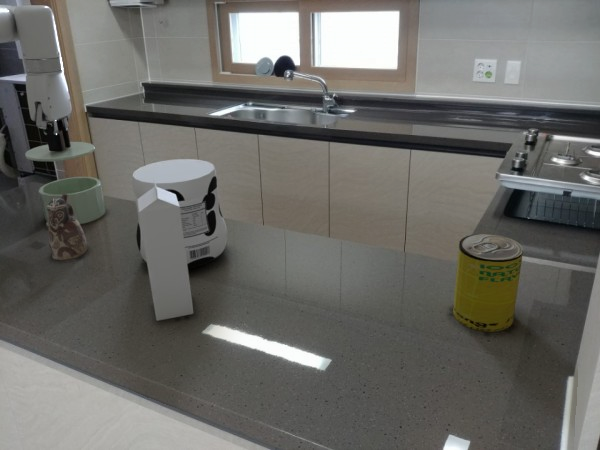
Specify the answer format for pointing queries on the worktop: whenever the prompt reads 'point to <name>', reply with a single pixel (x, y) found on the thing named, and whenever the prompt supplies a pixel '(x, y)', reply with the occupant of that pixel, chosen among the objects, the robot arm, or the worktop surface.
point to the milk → (165, 253)
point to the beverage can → (487, 281)
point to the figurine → (64, 230)
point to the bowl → (76, 197)
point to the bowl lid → (68, 153)
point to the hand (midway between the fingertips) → (60, 148)
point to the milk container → (188, 205)
